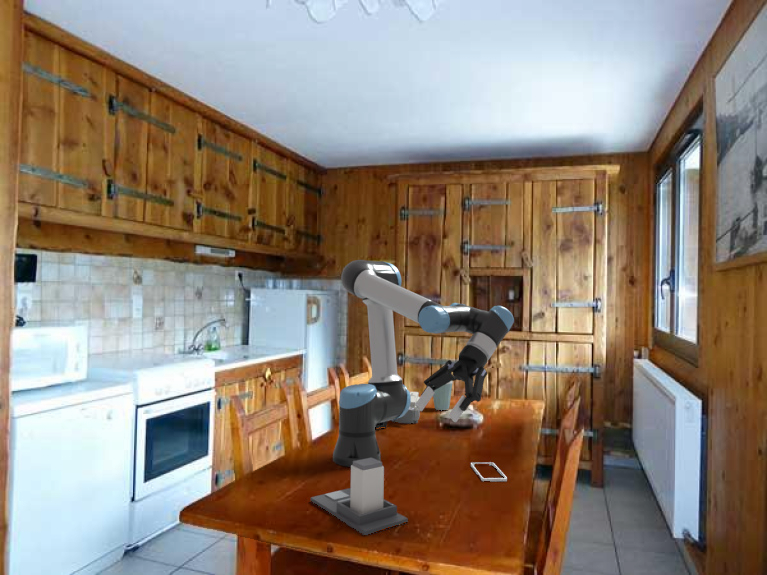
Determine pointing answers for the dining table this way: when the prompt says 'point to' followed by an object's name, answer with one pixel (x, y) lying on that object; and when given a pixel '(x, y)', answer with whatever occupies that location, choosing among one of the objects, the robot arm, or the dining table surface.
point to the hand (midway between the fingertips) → (434, 413)
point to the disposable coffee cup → (442, 397)
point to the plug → (367, 485)
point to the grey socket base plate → (363, 523)
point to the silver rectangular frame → (489, 478)
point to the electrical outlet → (410, 411)
